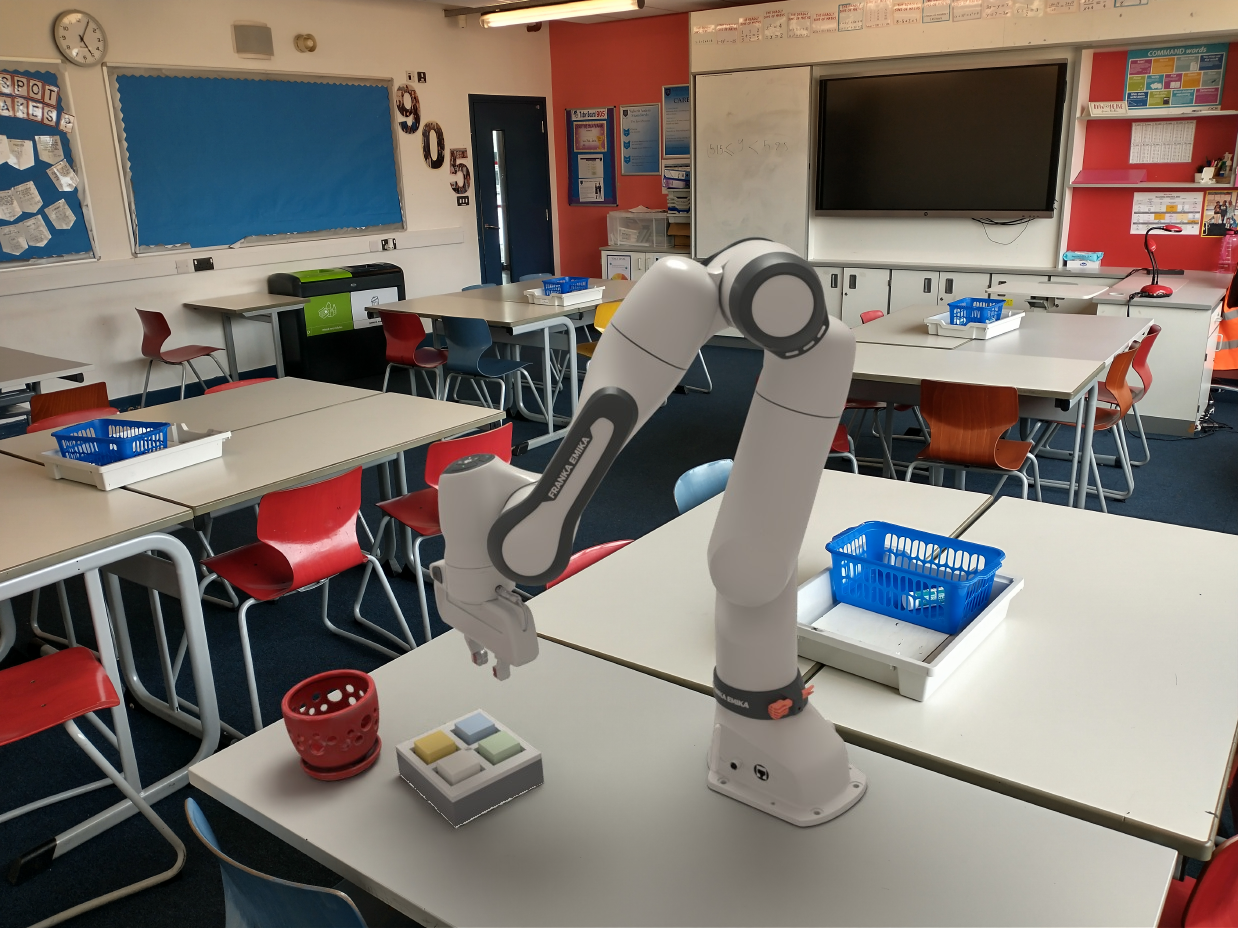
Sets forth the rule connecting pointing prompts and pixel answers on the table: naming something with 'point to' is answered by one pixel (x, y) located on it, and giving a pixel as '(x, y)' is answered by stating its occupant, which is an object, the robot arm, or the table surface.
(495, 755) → the key sage
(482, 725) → the key blue
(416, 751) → the key mustard
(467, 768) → the key grey
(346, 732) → the plant pot
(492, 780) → the keypad
